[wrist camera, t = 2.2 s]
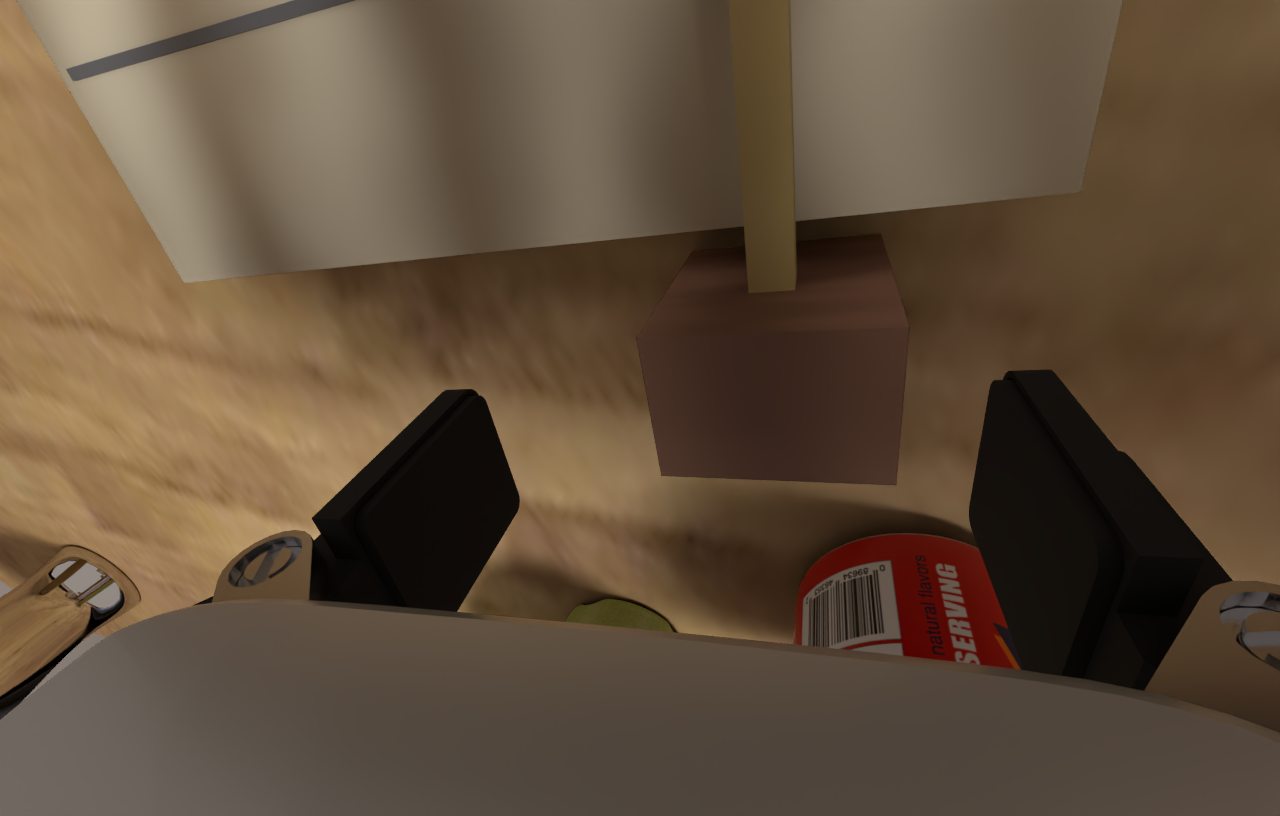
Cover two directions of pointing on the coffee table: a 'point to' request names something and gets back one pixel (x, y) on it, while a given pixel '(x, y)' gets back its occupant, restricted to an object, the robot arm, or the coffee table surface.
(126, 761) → the robot arm
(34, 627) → the beer glass
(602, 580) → the coffee table surface
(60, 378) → the coffee table surface
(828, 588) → the soda can
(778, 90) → the cube with stick handle
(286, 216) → the board
